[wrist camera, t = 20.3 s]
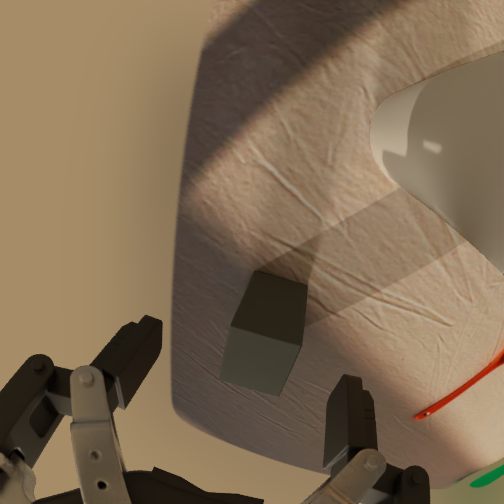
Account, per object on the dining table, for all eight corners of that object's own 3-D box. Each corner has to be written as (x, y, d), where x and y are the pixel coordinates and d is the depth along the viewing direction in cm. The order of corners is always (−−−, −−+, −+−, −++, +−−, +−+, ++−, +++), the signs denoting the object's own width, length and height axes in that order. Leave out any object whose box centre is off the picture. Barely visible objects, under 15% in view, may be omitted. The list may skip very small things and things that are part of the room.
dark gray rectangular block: (241, 321, 18) (217, 380, 13) (254, 269, 16) (230, 325, 12) (289, 334, 17) (278, 397, 13) (308, 285, 16) (302, 345, 11)
